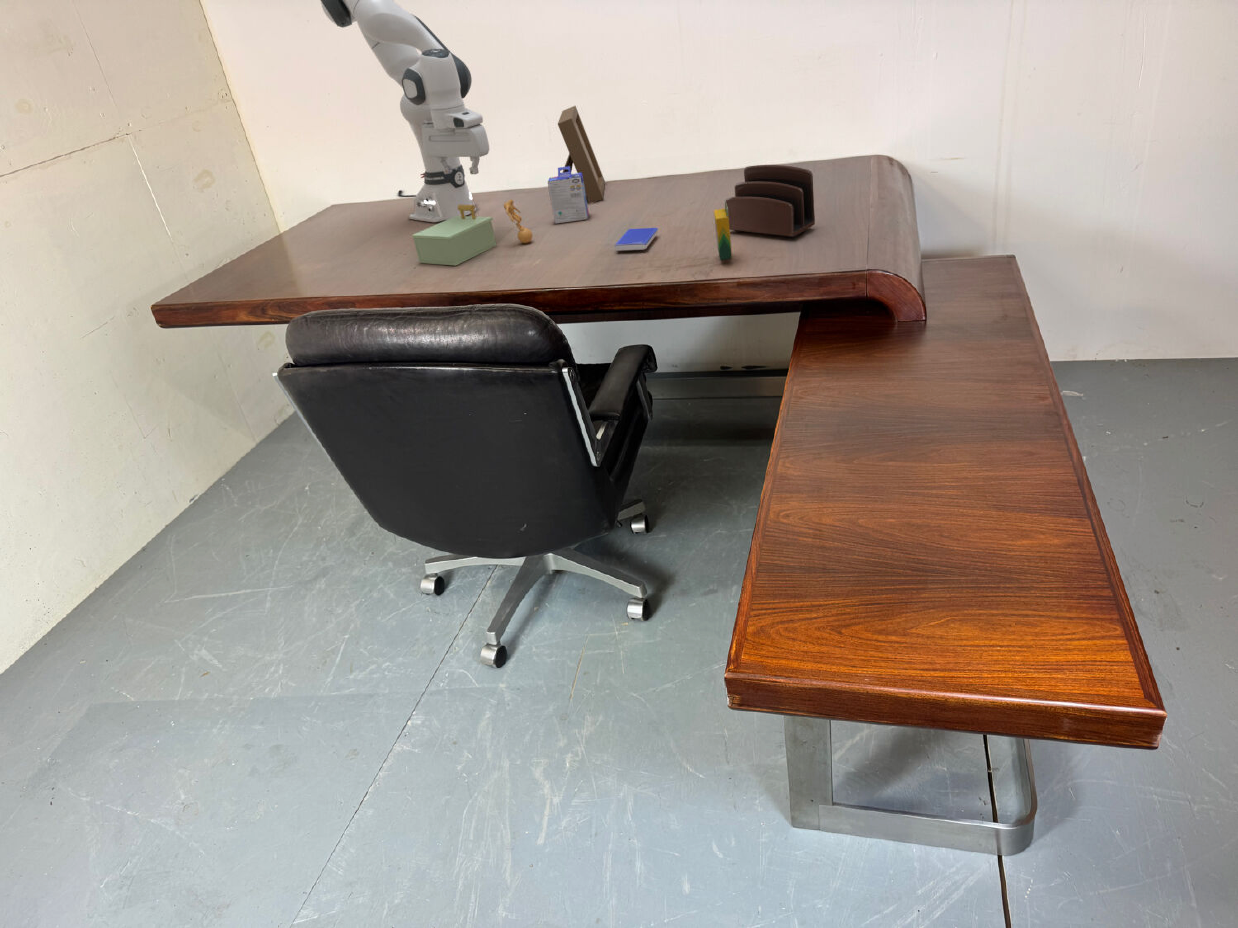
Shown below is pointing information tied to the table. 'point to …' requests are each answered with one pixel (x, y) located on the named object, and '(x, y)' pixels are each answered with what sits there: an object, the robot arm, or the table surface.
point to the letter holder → (773, 201)
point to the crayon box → (723, 233)
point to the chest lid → (454, 225)
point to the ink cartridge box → (568, 196)
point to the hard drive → (636, 239)
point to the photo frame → (581, 154)
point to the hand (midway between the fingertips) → (461, 173)
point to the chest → (456, 246)
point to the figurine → (518, 223)
